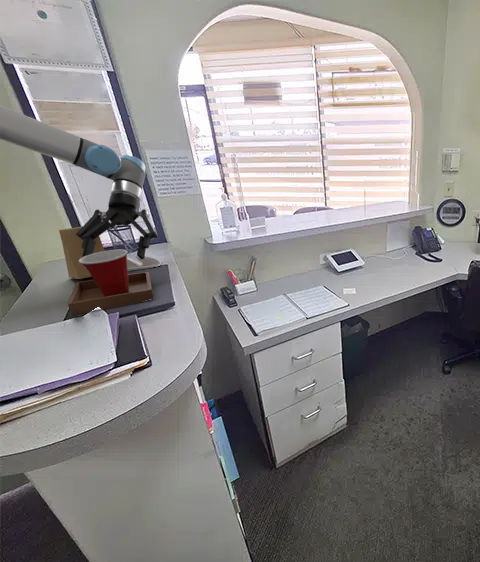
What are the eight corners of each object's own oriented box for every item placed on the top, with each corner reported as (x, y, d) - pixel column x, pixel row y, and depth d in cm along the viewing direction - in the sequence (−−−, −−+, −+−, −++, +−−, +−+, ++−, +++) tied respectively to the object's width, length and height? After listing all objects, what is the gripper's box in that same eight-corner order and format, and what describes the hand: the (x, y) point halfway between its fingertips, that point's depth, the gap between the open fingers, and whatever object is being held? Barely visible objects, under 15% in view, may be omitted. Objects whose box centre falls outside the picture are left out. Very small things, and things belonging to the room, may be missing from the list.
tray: (72, 315, 80) (67, 304, 78) (79, 292, 93) (76, 282, 91) (154, 299, 89) (151, 289, 88) (150, 280, 102) (148, 271, 101)
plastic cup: (90, 292, 91) (76, 253, 86) (135, 283, 98) (125, 246, 93) (92, 304, 84) (77, 263, 79) (141, 294, 91) (130, 255, 86)
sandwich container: (100, 270, 108) (83, 227, 104) (113, 271, 99) (95, 224, 95) (68, 277, 102) (48, 232, 98) (78, 279, 93) (58, 229, 89)
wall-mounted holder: (157, 255, 113) (86, 262, 104) (160, 266, 115) (90, 274, 105) (158, 250, 118) (91, 257, 109) (161, 262, 120) (95, 269, 110)
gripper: (173, 206, 105) (167, 261, 97) (87, 206, 99) (72, 265, 91) (164, 191, 98) (156, 250, 90) (70, 191, 92) (53, 253, 85)
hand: (114, 258), depth 91 cm, fingers open, 13 cm apart
